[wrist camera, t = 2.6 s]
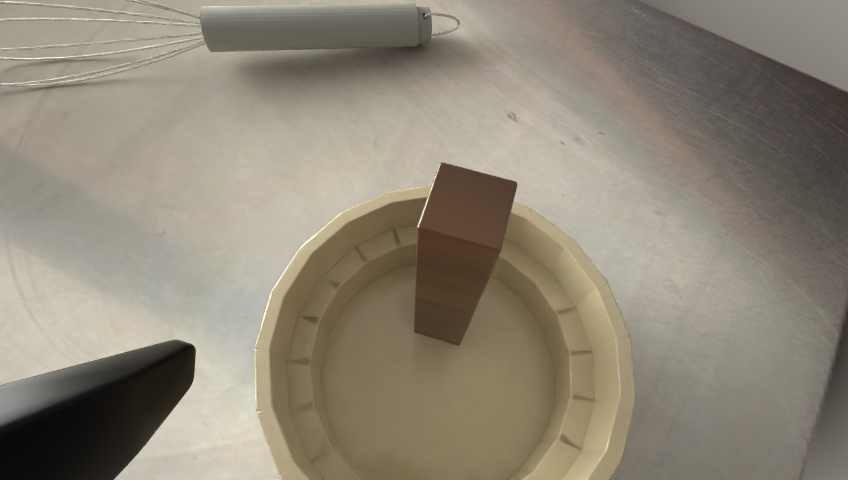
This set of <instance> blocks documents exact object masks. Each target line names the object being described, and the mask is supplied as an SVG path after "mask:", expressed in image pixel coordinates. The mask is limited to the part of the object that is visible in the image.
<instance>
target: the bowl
mask: <svg viewBox="0 0 848 480" xmlns="http://www.w3.org/2000/svg"><path fill="white" fill-rule="evenodd" d="M430 189H431V186H426V187H419V188H413V189H406V190H400V191H393V192H388V193H384V194H382V195H380V196H378V197H375V198H373V199H371V200H369V201H367V202H364V203H362V204H360V205H358V206H355V207H353V208H351V209H349V210H346V211H344V212H342V213H341V214H339V215H338V216H337V217H336V218H335V219H333V220H332V221H331V222H330V223H329V224H327V225H326V226H325V227H324V228H323V229H322V230H320V231H319V232H318V233H317V234H316V235H314V236H313V237H312V238H311V239H310V240H308V241H307V242H306V243H305V244H304V245H303V246H302V247H300V249H299V250H298V252H297V253H296V255H295V257H294V258H293V260H292V261H291V263H290V264H289V266H288V267H287V269H286V270H285V272H284V273H283V275H282V276H281V278H280V279H279V281H278V282H277V284H276V285H275V287H274V288H273V290H272V291H271V294H270V297H269V301H268V304H267V308H266V311H265V315H264V318H263V321H262V325H261V328H260V332H259V335H258V339H257V342H256V346H255V349H256V350H255V351H254V356H255V392H256V411H257V417H258V419H259V422H260V425H261V427H262V430H263V433H264V436H265V438H266V441H267V444H268V446H269V449H270V452H271V455H272V457H273V460H274V463H275V465H276V468H277V471H278V474H279V475H280V477H281V478H282V480H610V478H611V477H612V475H613V474H614V472H615V471H616V469H617V468H618V466H619V464H620V463H621V460H622V458H623V454H624V449H625V445H626V440H627V436H628V432H629V427H630V423H631V418H632V414H633V410H634V405H635V401H636V398H635V397H636V392H635V382H634V371H633V360H632V350H631V339H630V338H629V337H630V335H629V333H628V330H627V328H626V325H625V323H624V320H623V318H622V315H621V313H620V311H619V308H618V306H617V303H616V301H615V298H614V296H613V293H612V291H611V288H610V286H609V284H608V282H607V281H606V279H605V278H604V277H603V276H602V274H601V273H600V272H599V271H598V269H597V268H596V267H595V265H594V264H593V263H592V262H591V260H590V259H589V258H588V257H587V255H586V254H585V253H584V251H583V250H582V249H581V248H580V246H579V245H578V244H577V243H576V241H574V240H573V239H572V238H571V237H569V236H568V235H566V234H565V233H564V232H562V231H561V230H560V229H558V228H557V227H556V226H554V225H553V224H552V223H550V222H549V221H548V220H546V219H545V218H544V217H542V216H541V215H540V214H538V213H537V212H535V211H534V210H532V209H530V208H528V207H525V206H523V205H520V204H518V203H515V202H513V205H512V209H511V213H510V217H509V222H508V226H507V230H506V234H505V238H504V242H503V246H502V250H501V253H500V255H499V257H498V259H497V262H496V264H495V266H494V269H493V271H492V273H491V276H490V278H489V280H488V283H487V285H486V287H485V289H484V292H483V294H482V296H481V299H480V301H479V303H478V306H477V308H476V310H475V313H474V315H473V317H472V319H471V322H470V324H469V326H468V329H467V331H466V333H465V336H464V338H463V340H462V343H461V345H460V346H458V345H454V344H451V343H448V342H444V341H441V340H438V339H435V338H431V337H428V336H425V335H422V334H418V333H415V332H414V314H415V281H416V248H417V226H418V223H419V220H420V217H421V214H422V212H423V209H424V206H425V203H426V200H427V197H428V195H429V192H430Z"/></svg>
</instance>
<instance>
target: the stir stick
mask: <svg viewBox="0 0 848 480" xmlns="http://www.w3.org/2000/svg"><path fill="white" fill-rule="evenodd" d="M516 189H517V182H515V181H511V180H507V179H504V178H500V177H496V176H492V175H488V174H484V173H481V172H477V171H473V170H469V169H465V168H461V167H458V166H454V165H450V164H446V163H440V164H439V166H438V169H437V172H436V175H435V177H434V180H433V183H432V186H431V189H430V192H429V195H428V197H427V200H426V203H425V206H424V209H423V212H422V214H421V217H420V220H419V223H418V226H417V248H416V281H415V314H414V332H415V333H418V334H422V335H425V336H428V337H431V338H435V339H438V340H441V341H444V342H448V343H451V344H454V345H458V346H460V345H461V343H462V340H463V338H464V336H465V333H466V331H467V329H468V326H469V324H470V322H471V319H472V317H473V315H474V313H475V310H476V308H477V306H478V303H479V301H480V299H481V296H482V294H483V292H484V289H485V287H486V285H487V283H488V280H489V278H490V276H491V273H492V271H493V269H494V266H495V264H496V262H497V259H498V257H499V255H500V253H501V250H502V246H503V242H504V238H505V234H506V230H507V226H508V222H509V217H510V213H511V209H512V205H513V201H514V197H515V193H516Z"/></svg>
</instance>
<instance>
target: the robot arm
mask: <svg viewBox="0 0 848 480" xmlns="http://www.w3.org/2000/svg"><path fill="white" fill-rule="evenodd" d="M195 355H196V349H195V347H194V346H193V345H192V344H190V343H187V342H184V341H180V340H171V341H167V342H163V343H159V344H155V345H152V346H148V347H144V348H140V349H136V350H133V351H129V352H125V353H121V354H117V355H114V356H110V357H106V358H102V359H98V360H95V361H91V362H87V363H83V364H79V365H75V366H72V367H68V368H64V369H60V370H56V371H53V372H49V373H45V374H41V375H37V376H34V377H30V378H26V379H22V380H18V381H15V382H11V383H7V384H3V385H0V480H114V479H115V478H116V477H117V476H118V475H119V474H120V473H121V471H122V470H123V469H124V468H125V467H126V466H127V465H128V464H129V463H130V462H131V461H132V460H133V459H134V457H135V456H136V455H137V454H138V453H139V452H140V451H141V449H142V448H143V447H144V446H145V445H146V443H147V442H148V441H149V440H150V438H151V437H152V436H153V434H154V433H155V432H156V431H157V429H158V428H159V427H160V426H161V424H162V423H163V422H164V420H165V419H166V418H167V417H168V415H169V414H170V413H171V411H172V410H173V409H174V408H175V406H176V405H177V404H178V403H179V401H180V400H181V399H182V397H183V396H184V395H185V394H186V392H187V391H188V390H189V388H190V386H191V385H192V382H193V379H194V370H195Z"/></svg>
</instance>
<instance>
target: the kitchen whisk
mask: <svg viewBox="0 0 848 480" xmlns="http://www.w3.org/2000/svg"><path fill="white" fill-rule="evenodd" d="M127 1H131V2H136V3H140V4H145V5H149V6H153V7H157V8H161V9H165V10H169V11H173V12H177V13H181V14H185V15H188V16H192V17H195V18H199V19H200V21H201V22H196V21H189V20H182V19H175V18H168V17H160V16H153V15H145V14H137V13H129V12H120V11H112V10H103V9H94V8H84V7H74V6H64V5H51V4H38V3H26V2H8V1H0V4H16V5H31V6H44V7H57V8H69V9H79V10H89V11H99V12H108V13H117V14H125V15H134V16H142V17H150V18H158V19H165V20H173V21H180V22H187V23H194V24H201V25H194V24H180V23H165V22H147V21H128V20H106V19H72V18H18V19H0V21H31V20H59V21H102V22H126V23H145V24H163V25H178V26H192V27H201V28H202V32H198V33H189V34H179V35H169V36H159V37H149V38H138V39H127V40H116V41H104V42H92V43H79V44H66V45H51V46H37V47H20V48H0V51H11V50H30V49H44V48H59V47H73V46H85V45H97V44H109V43H120V42H131V41H142V40H152V39H163V38H173V37H182V36H192V35H201V34H203V36H201V37H196V38H191V39H187V40H182V41H176V42H171V43H166V44H160V45H155V46H149V47H143V48H137V49H130V50H123V51H117V52H109V53H101V54H92V55H83V56H70V57H58V58H0V60H24V61H29V60H59V59H72V58H85V57H93V56H102V55H110V54H118V53H125V52H131V51H138V50H144V49H150V48H156V47H162V46H167V45H172V44H178V43H183V42H188V41H193V40H197V39H202V38H204V39H205V40H203V41H200V42H197V43H194V44H191V45H188V46H185V47H182V48H179V49H175V50H172V51H169V52H165V53H162V54H159V55H155V56H152V57H148V58H145V59H141V60H137V61H134V62H130V63H126V64H122V65H118V66H114V67H110V68H105V69H101V70H97V71H93V72H88V73H82V74H77V75H72V76H67V77H61V78H56V79H48V80H40V81H32V82H24V83H7V84H0V86H10V87H33V86H51V85H58V84H65V83H73V82H80V81H84V80H89V79H94V78H99V77H103V76H108V75H112V74H116V73H120V72H123V71H127V70H131V69H134V68H138V67H141V66H145V65H148V64H151V63H154V62H157V61H160V60H164V59H167V58H169V57H172V56H175V55H178V54H181V53H184V52H186V51H189V50H192V49H194V48H197V47H199V46H202V45H204V44H206V45H207V47H208V49H209V50H210V51H211V52H227V51H265V50H302V49H340V48H378V47H415V46H417V44H422V43H430V40H431V36H437V35H442V34H446V33H450V32H452V31H454V30H456V29H457V28H458V27H459V25H460V22H459V20H458V19H457V18H455V17H453V16H450V15H445V14H439V13H431V11H430V8H429V7H417V6H416V4H379V5H296V6H212V7H201V9H200V16H199V15H196V14H192V13H189V12H185V11H182V10H179V9H175V8H172V7H168V6H165V5H161V4H157V3H154V2H150V1H146V0H127ZM431 15H437V16H444V17H449V18H452V19H455V20H456V21H457V22H458V25H457V26H456V27H455V28H454V29H452V30H449V31H446V32H442V33H437V34H431V33H432V19H431ZM195 45H196V46H195ZM192 46H193V47H192ZM189 47H190V48H189ZM186 48H188V49H186ZM183 49H185V50H183ZM180 50H182V51H180ZM177 51H180V52H177ZM174 52H177V53H174ZM170 53H174V54H171V55H168V56H165V57H163V58H159V59H156V60H153V61H150V62H147V63H143V64H140V65H137V66H133V67H130V68H126V69H122V70H119V71H115V72H111V73H107V74H102V75H98V76H93V77H88V78H83V79H79V80H72V81H64V82H57V83H50V84H35V83H43V82H51V81H58V80H64V79H69V78H74V77H79V76H85V75H90V74H95V73H99V72H103V71H107V70H112V69H116V68H120V67H124V66H128V65H132V64H135V63H139V62H143V61H146V60H150V59H154V58H157V57H160V56H164V55H167V54H170ZM27 84H30V85H27Z"/></svg>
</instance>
